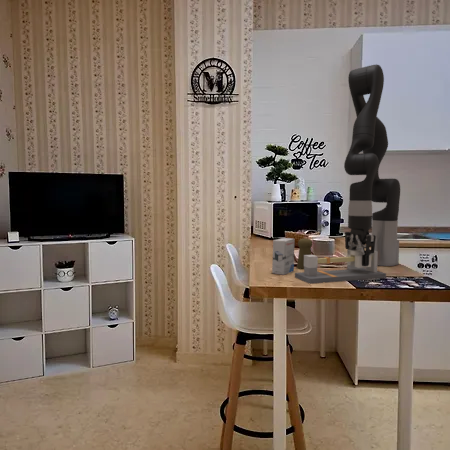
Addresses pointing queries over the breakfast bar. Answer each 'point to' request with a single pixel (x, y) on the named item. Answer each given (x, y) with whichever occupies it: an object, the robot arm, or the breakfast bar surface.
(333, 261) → the cable board
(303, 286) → the breakfast bar surface
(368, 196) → the robot arm
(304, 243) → the olive pawn shape
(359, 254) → the sleeve
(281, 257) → the ink box
